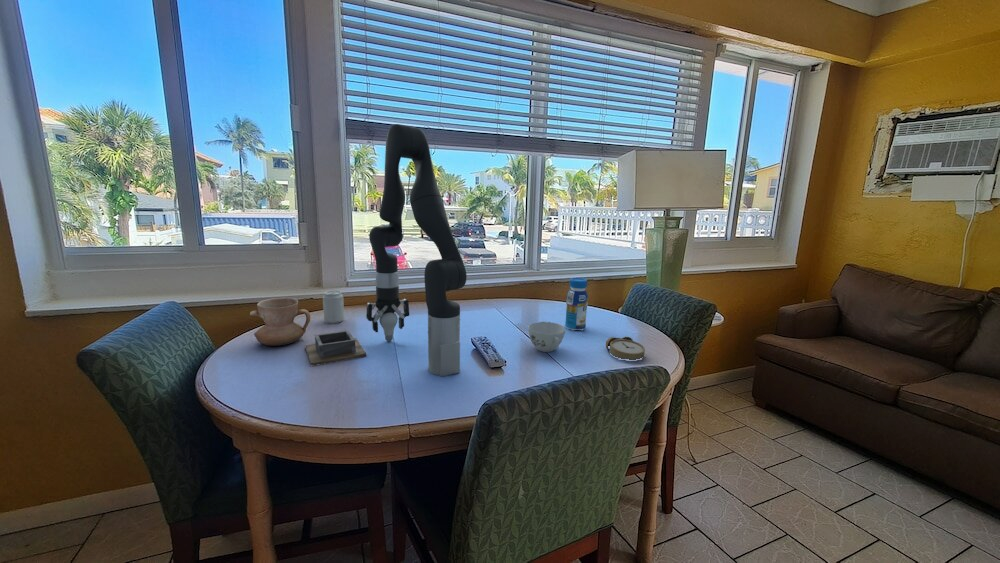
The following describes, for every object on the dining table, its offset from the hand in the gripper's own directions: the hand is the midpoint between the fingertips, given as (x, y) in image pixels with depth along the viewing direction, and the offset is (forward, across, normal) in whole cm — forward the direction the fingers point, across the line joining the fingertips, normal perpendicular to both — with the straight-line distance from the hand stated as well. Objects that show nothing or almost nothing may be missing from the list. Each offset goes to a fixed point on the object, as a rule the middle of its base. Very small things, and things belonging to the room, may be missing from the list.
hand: (388, 329), depth 140 cm
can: (+4, -13, +32) cm, 35 cm away
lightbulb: (+4, 0, 0) cm, 4 cm away
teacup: (+4, +45, -32) cm, 55 cm away
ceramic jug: (+4, -32, +16) cm, 36 cm away
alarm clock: (+4, +67, -46) cm, 81 cm away
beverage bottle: (+4, +70, -18) cm, 72 cm away
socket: (+4, -18, -2) cm, 19 cm away
